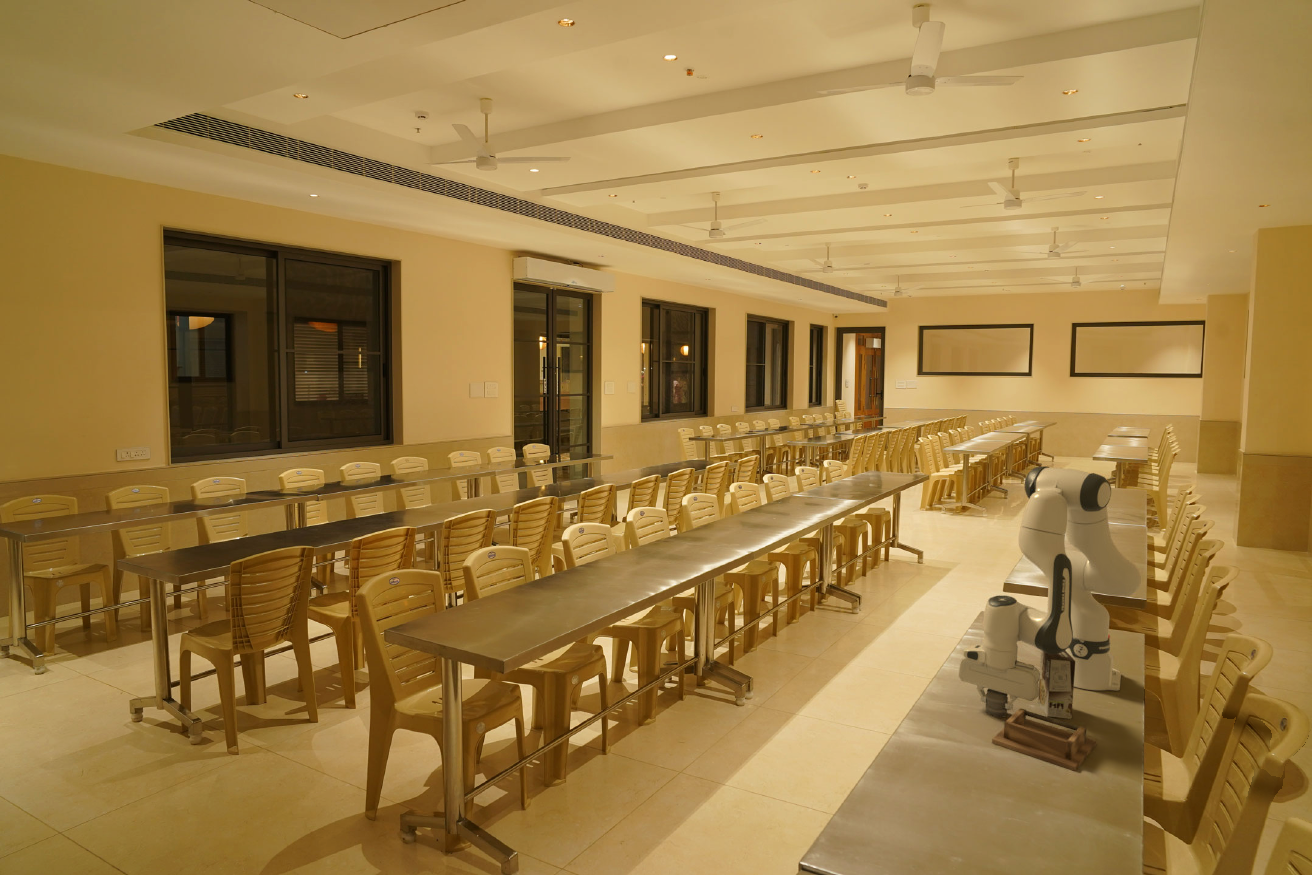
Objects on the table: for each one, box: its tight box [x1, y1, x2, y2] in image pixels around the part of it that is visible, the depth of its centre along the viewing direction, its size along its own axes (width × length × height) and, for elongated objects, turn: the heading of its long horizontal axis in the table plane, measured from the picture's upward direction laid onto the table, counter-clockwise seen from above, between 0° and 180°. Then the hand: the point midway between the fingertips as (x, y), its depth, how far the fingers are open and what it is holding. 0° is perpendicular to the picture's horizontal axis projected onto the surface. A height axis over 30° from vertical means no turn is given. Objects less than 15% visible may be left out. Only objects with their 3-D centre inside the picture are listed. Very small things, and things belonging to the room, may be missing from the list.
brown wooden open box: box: [991, 708, 1097, 772], centre depth 192 cm, size 18×19×5 cm
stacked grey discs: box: [984, 688, 1009, 718], centre depth 209 cm, size 5×5×6 cm
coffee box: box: [1037, 650, 1076, 720], centre depth 210 cm, size 9×6×16 cm
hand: (996, 705), depth 209 cm, fingers open, 5 cm apart
